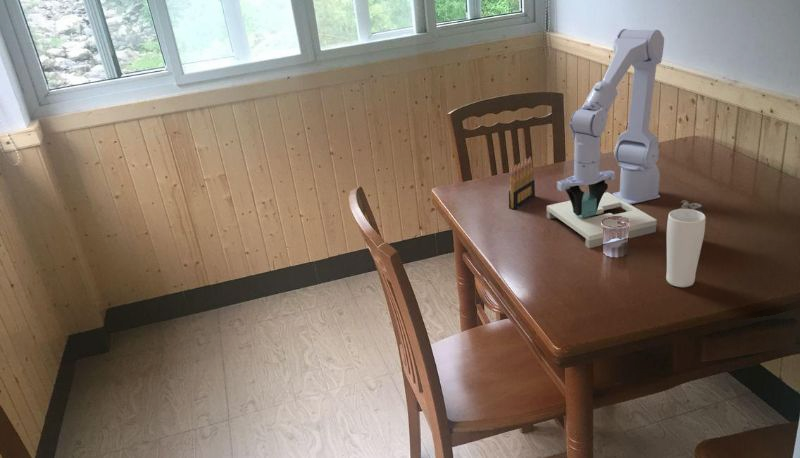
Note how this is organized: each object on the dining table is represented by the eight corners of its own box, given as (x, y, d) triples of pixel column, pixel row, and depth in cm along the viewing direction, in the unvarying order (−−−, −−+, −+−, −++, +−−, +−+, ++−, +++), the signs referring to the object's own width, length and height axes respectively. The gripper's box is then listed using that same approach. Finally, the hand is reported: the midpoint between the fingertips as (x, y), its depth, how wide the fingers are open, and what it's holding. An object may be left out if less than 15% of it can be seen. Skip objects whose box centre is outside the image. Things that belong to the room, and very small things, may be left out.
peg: (587, 221, 156) (587, 192, 152) (596, 228, 152) (597, 198, 148) (571, 225, 155) (572, 195, 151) (580, 231, 151) (581, 201, 147)
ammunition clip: (514, 209, 167) (513, 168, 162) (508, 208, 168) (507, 167, 163) (535, 196, 174) (534, 155, 169) (529, 195, 175) (528, 154, 170)
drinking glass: (656, 276, 129) (661, 210, 123) (687, 271, 129) (694, 206, 123) (672, 292, 123) (678, 224, 117) (704, 287, 123) (713, 220, 117)
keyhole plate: (607, 203, 164) (607, 192, 163) (655, 232, 147) (656, 219, 145) (546, 217, 161) (546, 205, 159) (588, 248, 143) (589, 236, 142)
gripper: (604, 149, 150) (602, 200, 156) (550, 160, 147) (550, 212, 153) (621, 157, 144) (618, 210, 150) (566, 169, 141) (565, 222, 147)
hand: (585, 212), depth 151 cm, fingers closed on peg, 4 cm apart
